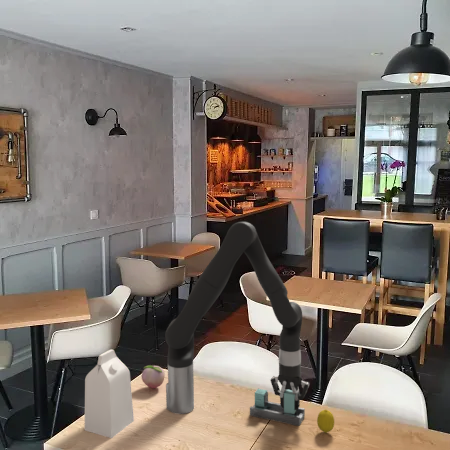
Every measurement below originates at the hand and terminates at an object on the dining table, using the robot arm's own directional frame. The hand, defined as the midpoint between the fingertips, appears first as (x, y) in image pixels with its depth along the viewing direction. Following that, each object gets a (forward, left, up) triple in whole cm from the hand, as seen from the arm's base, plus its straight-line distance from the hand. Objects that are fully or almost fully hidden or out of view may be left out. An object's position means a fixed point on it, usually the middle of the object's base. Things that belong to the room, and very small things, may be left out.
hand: (289, 407), depth 169 cm
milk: (-56, -28, -4) cm, 62 cm away
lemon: (+13, -4, -4) cm, 15 cm away
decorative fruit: (-57, +2, -4) cm, 57 cm away
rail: (-5, 0, -4) cm, 6 cm away
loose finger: (0, 0, -1) cm, 1 cm away
